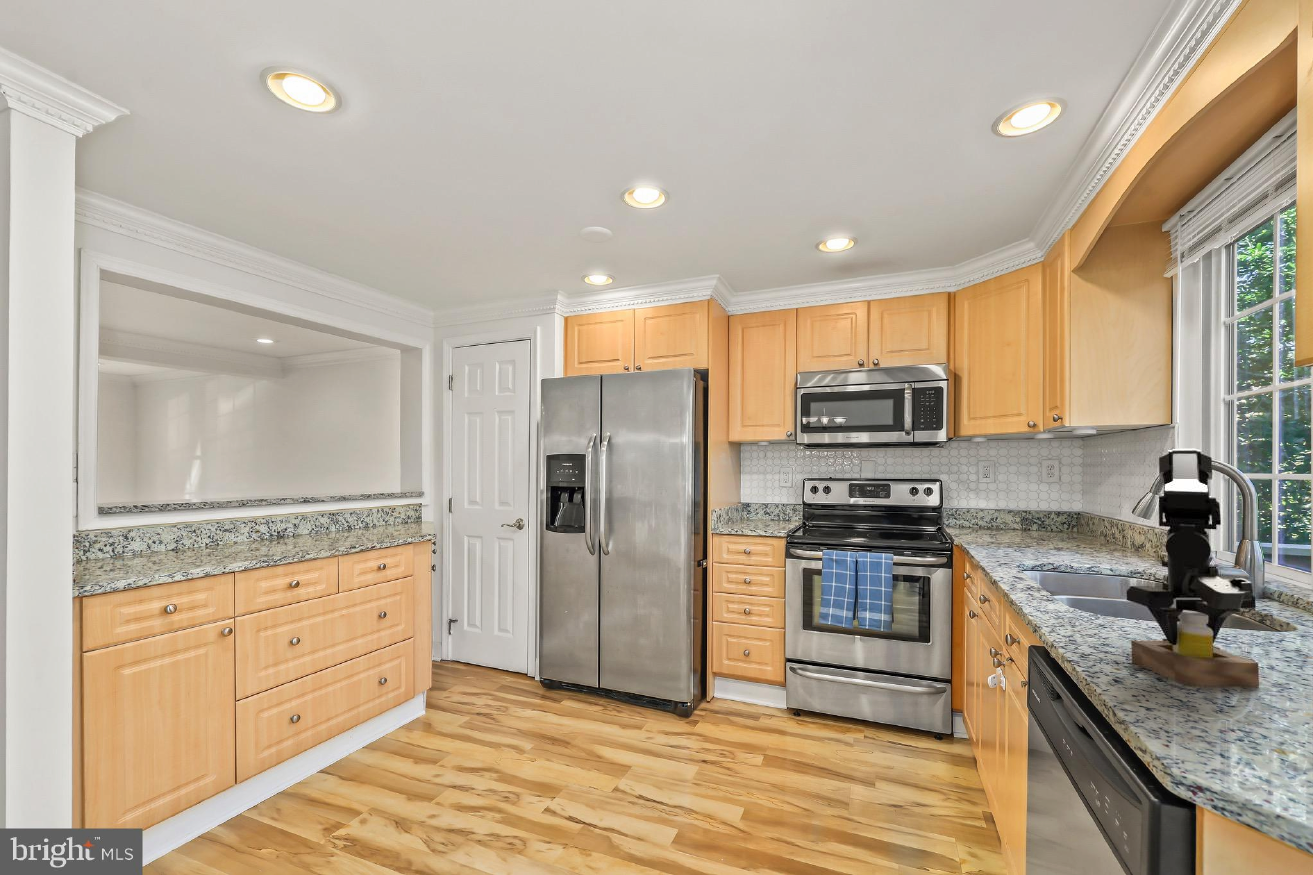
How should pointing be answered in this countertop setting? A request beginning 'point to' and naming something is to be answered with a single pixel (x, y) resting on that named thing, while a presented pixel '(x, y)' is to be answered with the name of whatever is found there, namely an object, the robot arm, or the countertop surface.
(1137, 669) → the countertop surface
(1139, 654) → the socket block
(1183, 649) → the supplement bottle
